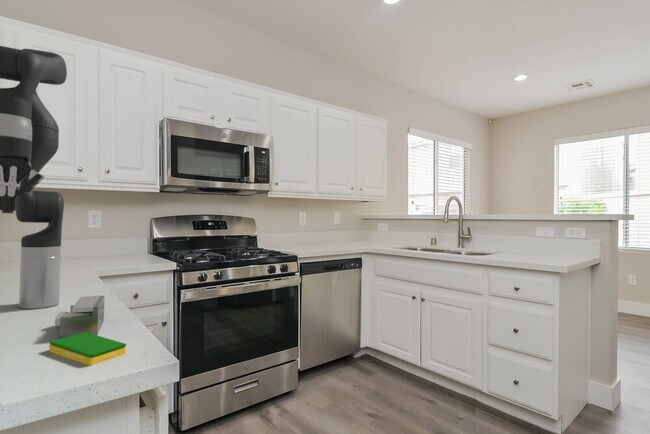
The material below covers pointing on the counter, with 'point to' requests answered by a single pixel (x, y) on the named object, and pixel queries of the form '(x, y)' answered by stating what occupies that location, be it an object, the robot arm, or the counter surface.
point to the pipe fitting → (66, 314)
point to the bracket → (84, 317)
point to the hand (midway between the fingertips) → (7, 212)
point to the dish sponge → (87, 348)
